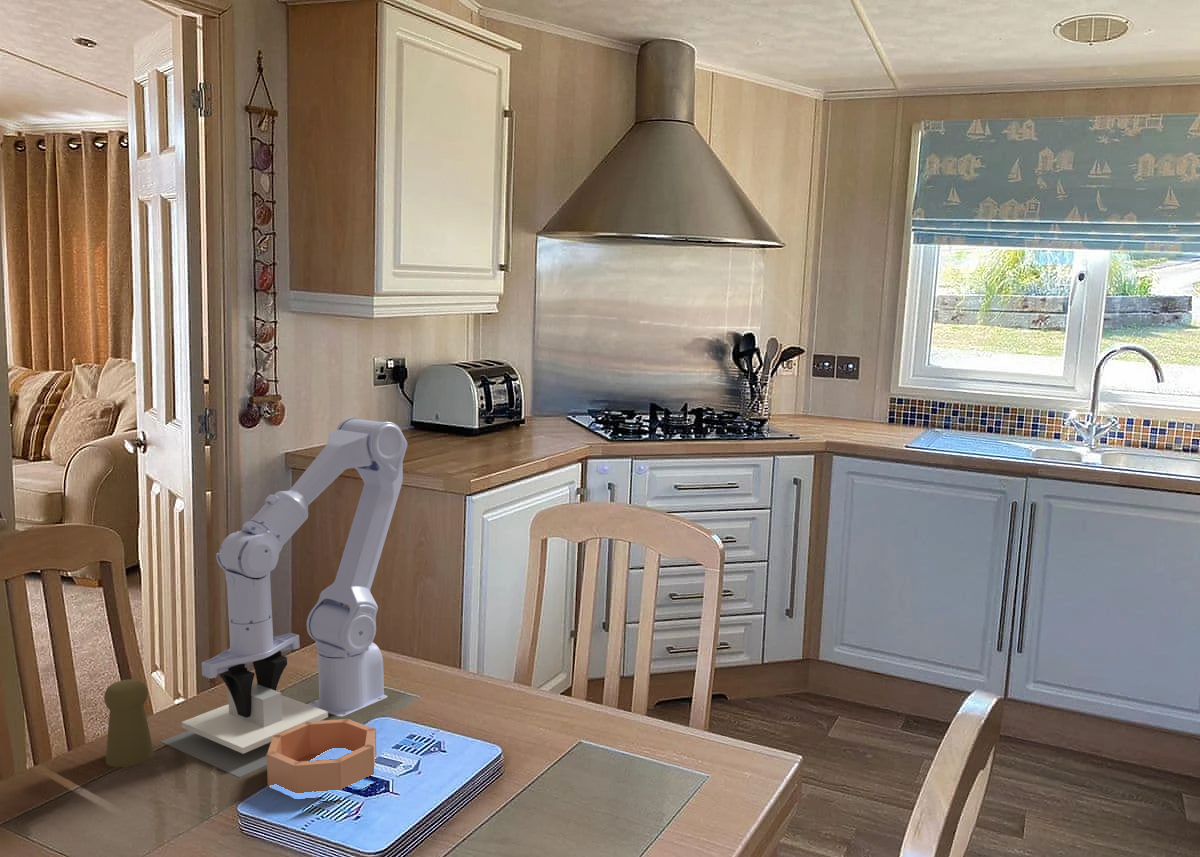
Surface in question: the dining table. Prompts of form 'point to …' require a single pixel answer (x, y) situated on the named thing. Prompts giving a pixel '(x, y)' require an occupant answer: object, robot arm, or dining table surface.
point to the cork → (127, 724)
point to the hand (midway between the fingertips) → (255, 710)
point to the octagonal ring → (312, 739)
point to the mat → (220, 753)
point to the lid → (253, 720)
